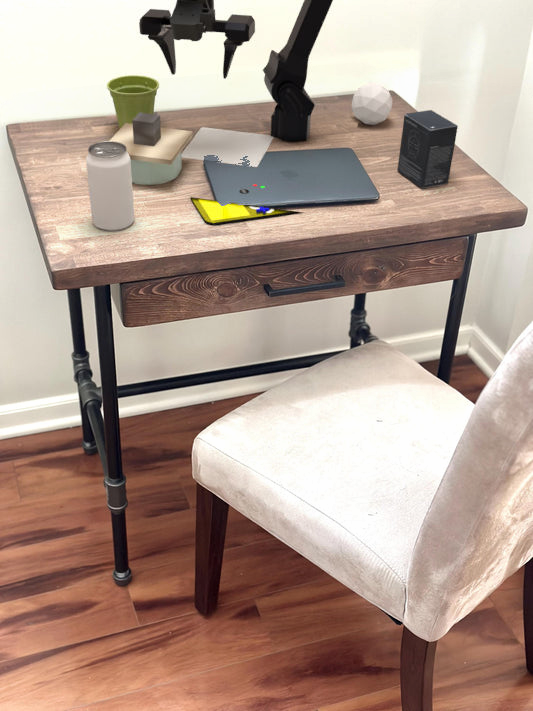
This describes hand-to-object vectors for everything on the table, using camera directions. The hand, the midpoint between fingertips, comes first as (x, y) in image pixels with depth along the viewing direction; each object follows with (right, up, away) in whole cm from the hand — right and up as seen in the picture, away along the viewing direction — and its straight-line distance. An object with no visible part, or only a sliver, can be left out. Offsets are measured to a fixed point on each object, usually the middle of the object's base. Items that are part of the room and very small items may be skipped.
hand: (199, 75), depth 151 cm
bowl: (-8, -18, -3) cm, 20 cm away
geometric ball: (+32, -3, +19) cm, 37 cm away
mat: (+5, -12, +6) cm, 14 cm away
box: (+39, -18, 0) cm, 43 cm away
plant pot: (-13, -6, +12) cm, 19 cm away
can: (-12, -28, -17) cm, 35 cm away
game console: (+9, -25, -10) cm, 28 cm away
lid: (-8, -14, -7) cm, 17 cm away
